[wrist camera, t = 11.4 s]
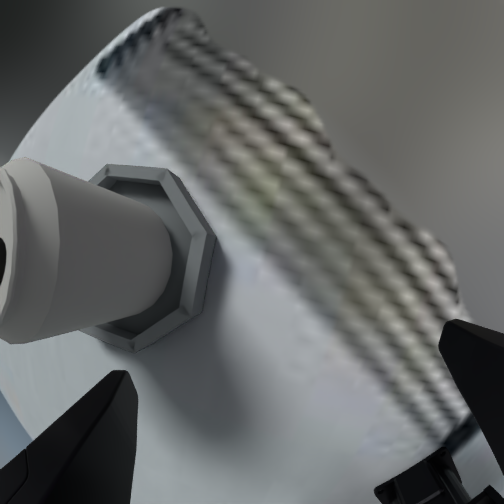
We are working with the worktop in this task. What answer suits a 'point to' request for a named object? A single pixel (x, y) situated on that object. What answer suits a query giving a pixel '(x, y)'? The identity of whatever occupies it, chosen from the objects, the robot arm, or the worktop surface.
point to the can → (73, 253)
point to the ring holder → (183, 260)
